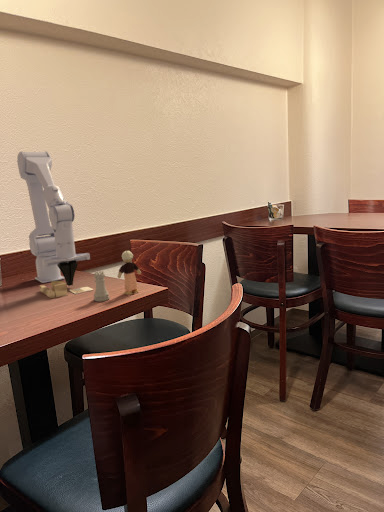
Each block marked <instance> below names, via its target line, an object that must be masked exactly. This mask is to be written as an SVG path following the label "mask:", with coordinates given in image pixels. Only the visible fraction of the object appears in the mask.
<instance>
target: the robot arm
mask: <svg viewBox="0 0 384 512" xmlns="http://www.w3.org/2000/svg"><path fill="white" fill-rule="evenodd" d="M16 162H17V167H18V171H19V172H18V173H19V176H20V179H22V180H24V181H25V182H26V186H27V191H28V195H29V199H30V204H31V210H32V211H31V212H32V215H33V221H34V224H35V228H33V229H32V231H31V232H30V233H29V235H28V238H29V239H28V240H29V241H28V242H29V251H30V253H31V254H32V255H33V256H35V257H36V259H35V268H36V275H37V277H36V276H35V277H34V280H36V281H37V282H40V283H42V284H45V283H52V281H62V280H65V283H66V284H67V286H68V287H70V286H74V278H75V274H76V271H77V267H78V264H79V263H78V262H80V261H87V260H88V261H89V260H91V254H90V253H89V252H85V253H76V245H75V238H74V237H75V236H74V227H73V222H74V221H75V218H76V217H75V210H74V206H73V205H72V204H71V203H70V202H69V201H67V200H66V199H65V196H64V194H63V192H62V189H61V187H60V186H58V185H55V180H54V178H53V175H52V172H51V170H52V166H53V159H52V156H51V153H49V152H48V151H19V152H18V154H17V161H16ZM61 273H62V275H61Z"/></svg>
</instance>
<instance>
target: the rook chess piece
mask: <svg viewBox="0 0 384 512" xmlns="http://www.w3.org/2000/svg"><path fill="white" fill-rule="evenodd" d="M105 276H106V273H105V272H104V271H103V270H102V271H101V270H100V271H95V272H94V274H93V278H94V279H95V280H94V282H95V291H94V293H93V300H94V302H98V303H100V302H101V303H102V302H106V301H109V299H110V298H111V296H110V293H109V291H108V290H107V287H106V283H105V281H106V279H105Z"/></svg>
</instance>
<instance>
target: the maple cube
mask: <svg viewBox="0 0 384 512" xmlns="http://www.w3.org/2000/svg"><path fill="white" fill-rule="evenodd" d="M50 286H51V287H52V289H51V290H53V291H54V292H55V298H61V297H65V296H68V295H69V293H68V287H67V286H68V285H67V284H66V282H64V281H62V282H58V283H53V284H50ZM51 287H50V288H51Z"/></svg>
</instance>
